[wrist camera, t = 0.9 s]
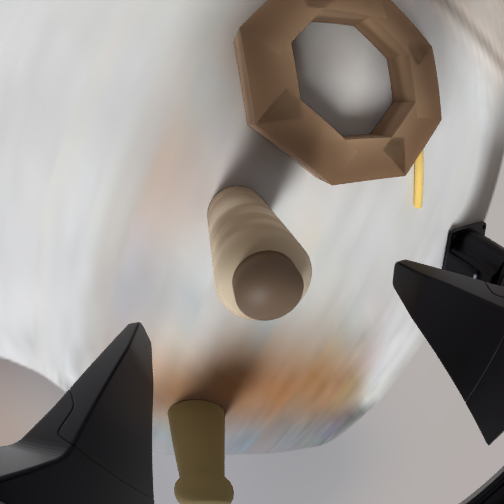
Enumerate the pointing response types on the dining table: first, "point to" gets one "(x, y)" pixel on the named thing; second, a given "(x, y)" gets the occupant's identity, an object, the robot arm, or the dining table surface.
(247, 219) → the beige wooden peg
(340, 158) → the brown octagonal ring
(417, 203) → the thin yellow rod
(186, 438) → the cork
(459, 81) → the dining table surface
